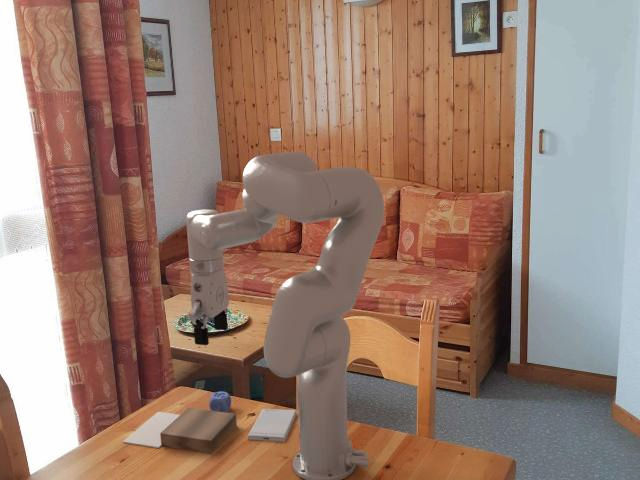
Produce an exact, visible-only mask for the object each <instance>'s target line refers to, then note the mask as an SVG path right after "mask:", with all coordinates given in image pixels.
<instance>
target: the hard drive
mask: <svg viewBox="0 0 640 480" xmlns="http://www.w3.org/2000/svg"><path fill="white" fill-rule="evenodd" d="M296 417H297V410H295V409H281V408H280V409H277V408H262V409H261V411H260V413H259V415H258V416H257V418H256V420H255V422H254V424H253V426H252V428H251V429H250V431H249V433H248V435H247V441H248V440H249V441H265V442H282V443H283V442H284V443H285V441H286V440H287V437H288V434H289V433H290V430H291V428H292V425H293V423H294V420H295V419H296Z"/></svg>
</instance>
